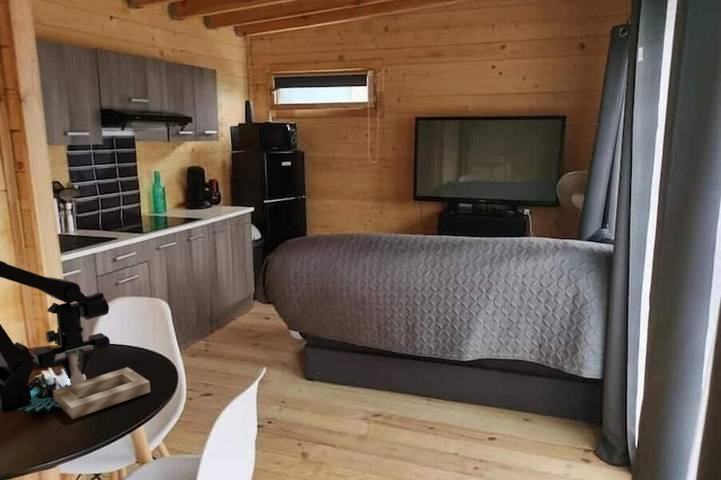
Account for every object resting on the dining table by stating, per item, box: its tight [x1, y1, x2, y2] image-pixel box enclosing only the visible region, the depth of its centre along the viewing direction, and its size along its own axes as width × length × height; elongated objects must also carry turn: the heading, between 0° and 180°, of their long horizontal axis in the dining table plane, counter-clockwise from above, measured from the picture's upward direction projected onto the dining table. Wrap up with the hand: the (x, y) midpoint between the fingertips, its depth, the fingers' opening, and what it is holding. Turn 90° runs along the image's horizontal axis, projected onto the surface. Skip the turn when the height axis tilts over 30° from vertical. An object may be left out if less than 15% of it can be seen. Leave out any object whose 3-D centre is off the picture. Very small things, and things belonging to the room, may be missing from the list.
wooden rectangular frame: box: [52, 366, 151, 420], centre depth 147 cm, size 20×14×3 cm
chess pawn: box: [68, 353, 87, 385], centre depth 155 cm, size 5×5×9 cm
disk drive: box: [34, 346, 79, 369], centre depth 174 cm, size 10×3×15 cm
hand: (75, 376), depth 156 cm, fingers closed on chess pawn, 3 cm apart
